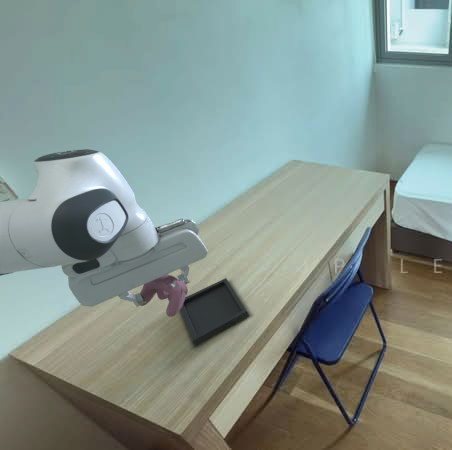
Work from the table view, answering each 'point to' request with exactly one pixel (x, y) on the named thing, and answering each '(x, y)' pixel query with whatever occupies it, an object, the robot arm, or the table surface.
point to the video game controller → (166, 292)
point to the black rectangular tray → (212, 311)
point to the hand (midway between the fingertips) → (164, 292)
